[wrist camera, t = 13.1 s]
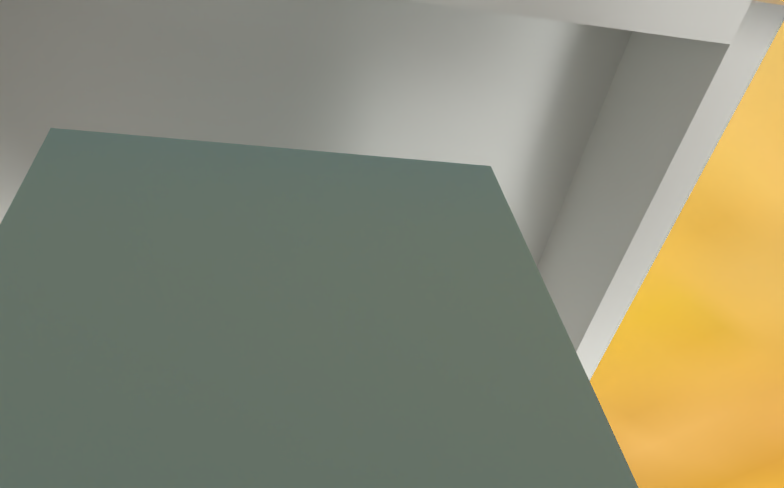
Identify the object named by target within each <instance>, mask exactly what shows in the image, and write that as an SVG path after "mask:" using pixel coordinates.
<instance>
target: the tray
mask: <svg viewBox="0 0 784 488" xmlns="http://www.w3.org/2000/svg"><path fill="white" fill-rule="evenodd" d="M783 21H784V2H783V1H781V0H0V224H1V222H2V220H3V218H4V216H5V214H6V212H7V210H8V208H9V207H10V205H11V203H12V201H13V199H14V197H15V195H16V193H17V191H18V189H19V187H20V186H21V184H22V182H23V180H24V178H25V176H26V174H27V172H28V170H29V168H30V167H31V165H32V163H33V161H34V159H35V157H36V155H37V153H38V151H39V149H40V147H41V146H42V144H43V142H44V140H45V138H46V136H47V134H48V132H49V130H50V128H59V129H70V130H82V131H93V132H105V133H116V134H128V135H139V136H151V137H162V138H174V139H185V140H197V141H209V142H220V143H232V144H243V145H255V146H266V147H278V148H289V149H301V150H312V151H324V152H335V153H347V154H358V155H370V156H381V157H393V158H404V159H416V160H428V161H439V162H451V163H462V164H474V165H485V166H491V168H492V170H493V172H494V174H495V176H496V179H497V181H498V183H499V185H500V187H501V190H502V192H503V194H504V196H505V198H506V200H507V203H508V205H509V207H510V209H511V211H512V213H513V216H514V218H515V220H516V222H517V224H518V227H519V229H520V231H521V233H522V235H523V237H524V240H525V242H526V244H527V246H528V248H529V251H530V253H531V255H532V257H533V259H534V261H535V264H536V266H537V268H538V270H539V272H540V274H541V277H542V279H543V281H544V283H545V285H546V288H547V290H548V292H549V294H550V296H551V298H552V301H553V303H554V305H555V307H556V309H557V312H558V314H559V316H560V318H561V320H562V322H563V325H564V327H565V329H566V331H567V333H568V335H569V338H570V340H571V342H572V344H573V346H574V349H575V351H576V353H577V355H578V357H579V359H580V362H581V364H582V366H583V368H584V370H585V373H586V375H587V377H588V379H589V381H590V379H591V377H592V375H593V373H594V371H595V370H596V368H597V366H598V364H599V362H600V360H601V358H602V357H603V355H604V353H605V351H606V349H607V347H608V345H609V344H610V342H611V340H612V338H613V336H614V334H615V333H616V331H617V329H618V327H619V325H620V323H621V321H622V320H623V318H624V316H625V314H626V312H627V310H628V308H629V307H630V305H631V303H632V301H633V299H634V297H635V295H636V294H637V292H638V290H639V288H640V286H641V284H642V282H643V281H644V279H645V277H646V275H647V273H648V271H649V269H650V268H651V266H652V264H653V262H654V260H655V258H656V256H657V255H658V253H659V251H660V249H661V247H662V245H663V243H664V242H665V240H666V238H667V236H668V234H669V232H670V230H671V229H672V227H673V225H674V223H675V221H676V219H677V218H678V216H679V214H680V212H681V210H682V208H683V206H684V205H685V203H686V201H687V199H688V197H689V195H690V193H691V192H692V190H693V188H694V186H695V184H696V182H697V180H698V179H699V177H700V175H701V173H702V171H703V169H704V167H705V166H706V164H707V162H708V160H709V158H710V156H711V154H712V153H713V151H714V149H715V147H716V145H717V143H718V141H719V140H720V138H721V136H722V134H723V132H724V130H725V128H726V127H727V125H728V123H729V121H730V119H731V117H732V115H733V114H734V112H735V110H736V108H737V106H738V104H739V103H740V101H741V99H742V97H743V95H744V93H745V91H746V90H747V88H748V86H749V84H750V82H751V80H752V78H753V77H754V75H755V73H756V71H757V69H758V67H759V65H760V64H761V62H762V60H763V58H764V56H765V54H766V52H767V51H768V49H769V47H770V45H771V43H772V41H773V39H774V38H775V36H776V34H777V32H778V30H779V28H780V26H781V25H782V23H783Z"/></svg>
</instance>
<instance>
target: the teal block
mask: <svg viewBox="0 0 784 488" xmlns="http://www.w3.org/2000/svg"><path fill="white" fill-rule="evenodd" d="M0 488H638V486H637V484H636V481H635V479H634V477H633V475H632V473H631V471H630V468H629V466H628V464H627V462H626V460H625V458H624V455H623V453H622V451H621V449H620V447H619V444H618V442H617V440H616V438H615V436H614V434H613V431H612V429H611V427H610V425H609V423H608V420H607V418H606V416H605V414H604V412H603V410H602V407H601V405H600V403H599V401H598V399H597V397H596V394H595V392H594V390H593V388H592V386H591V383H590V381H589V379H588V377H587V375H586V373H585V370H584V368H583V366H582V364H581V362H580V359H579V357H578V355H577V353H576V351H575V349H574V346H573V344H572V342H571V340H570V338H569V335H568V333H567V331H566V329H565V327H564V325H563V322H562V320H561V318H560V316H559V314H558V312H557V309H556V307H555V305H554V303H553V301H552V298H551V296H550V294H549V292H548V290H547V288H546V285H545V283H544V281H543V279H542V277H541V274H540V272H539V270H538V268H537V266H536V264H535V261H534V259H533V257H532V255H531V253H530V251H529V248H528V246H527V244H526V242H525V240H524V237H523V235H522V233H521V231H520V229H519V227H518V224H517V222H516V220H515V218H514V216H513V213H512V211H511V209H510V207H509V205H508V203H507V200H506V198H505V196H504V194H503V192H502V190H501V187H500V185H499V183H498V181H497V179H496V176H495V174H494V172H493V170H492V168H491V166H485V165H474V164H462V163H451V162H439V161H428V160H416V159H404V158H393V157H381V156H370V155H358V154H347V153H335V152H324V151H312V150H301V149H289V148H278V147H266V146H255V145H243V144H232V143H220V142H209V141H197V140H185V139H174V138H162V137H151V136H139V135H128V134H116V133H105V132H93V131H82V130H70V129H59V128H50V130H49V132H48V134H47V136H46V138H45V140H44V142H43V144H42V146H41V147H40V149H39V151H38V153H37V155H36V157H35V159H34V161H33V163H32V165H31V167H30V168H29V170H28V172H27V174H26V176H25V178H24V180H23V182H22V184H21V186H20V187H19V189H18V191H17V193H16V195H15V197H14V199H13V201H12V203H11V205H10V207H9V208H8V210H7V212H6V214H5V216H4V218H3V220H2V222H1V224H0Z"/></svg>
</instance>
